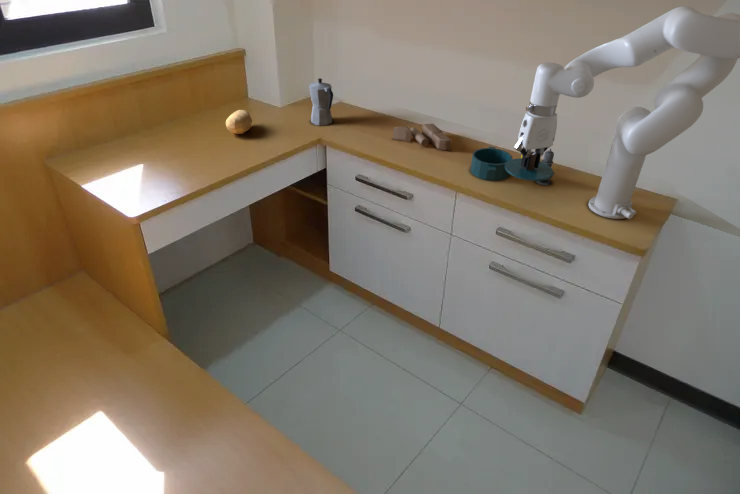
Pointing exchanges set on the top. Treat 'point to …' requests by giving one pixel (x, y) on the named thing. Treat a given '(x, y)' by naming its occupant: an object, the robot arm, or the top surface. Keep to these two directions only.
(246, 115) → the potato
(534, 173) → the pan lid
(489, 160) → the pan
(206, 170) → the top surface
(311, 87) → the coffeepot
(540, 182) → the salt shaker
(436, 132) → the wooden block set
